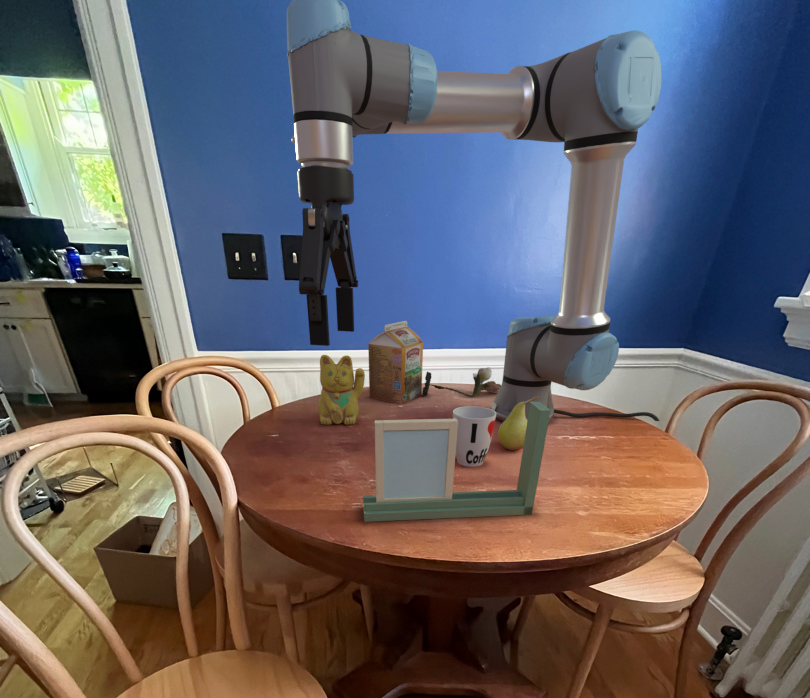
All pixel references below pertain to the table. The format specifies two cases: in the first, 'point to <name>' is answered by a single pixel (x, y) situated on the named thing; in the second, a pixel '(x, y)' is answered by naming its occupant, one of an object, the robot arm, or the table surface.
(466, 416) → the cup
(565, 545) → the table surface
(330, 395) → the figurine
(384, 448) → the window pane
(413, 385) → the milk carton
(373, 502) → the green l-shaped bracket
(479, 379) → the artificial flower
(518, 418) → the fruit
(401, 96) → the robot arm
